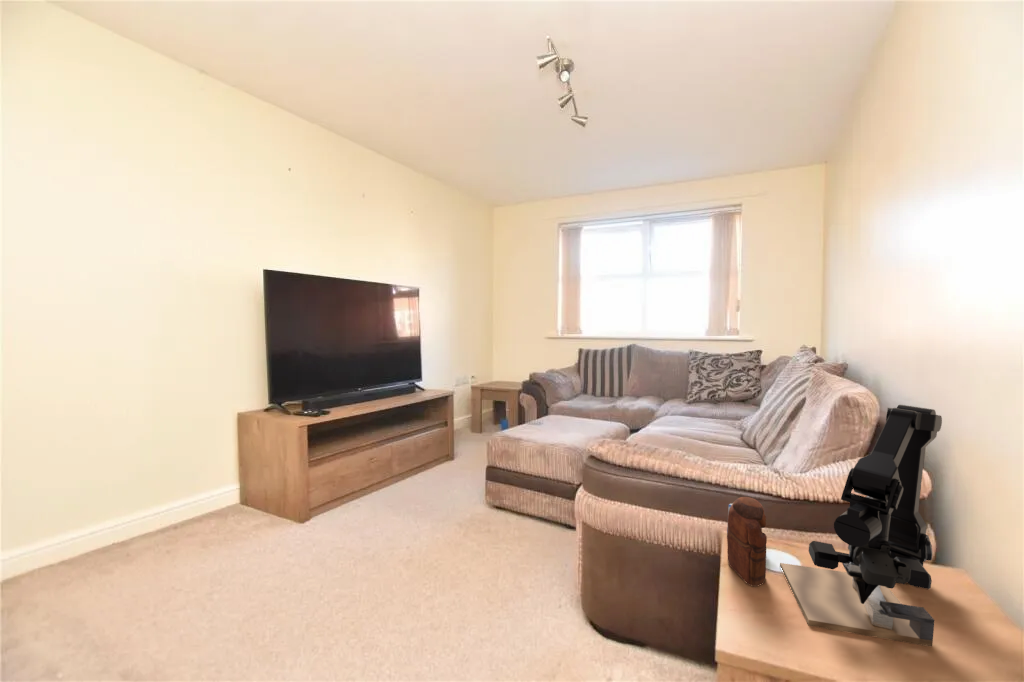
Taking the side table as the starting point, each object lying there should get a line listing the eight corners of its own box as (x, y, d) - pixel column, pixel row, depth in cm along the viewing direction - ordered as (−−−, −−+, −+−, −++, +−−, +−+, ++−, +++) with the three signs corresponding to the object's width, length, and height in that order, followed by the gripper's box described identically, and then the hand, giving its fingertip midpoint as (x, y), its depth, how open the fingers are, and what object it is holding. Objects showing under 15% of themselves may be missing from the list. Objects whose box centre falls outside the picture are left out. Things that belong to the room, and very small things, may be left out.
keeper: (921, 633, 87) (923, 607, 87) (932, 646, 84) (934, 619, 83) (878, 626, 89) (879, 600, 89) (886, 639, 86) (888, 612, 85)
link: (849, 579, 102) (850, 568, 101) (876, 585, 99) (877, 574, 99) (866, 623, 88) (867, 610, 88) (898, 631, 86) (899, 618, 85)
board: (879, 581, 103) (880, 560, 102) (932, 646, 84) (934, 620, 83) (779, 567, 108) (780, 547, 108) (808, 625, 89) (809, 601, 89)
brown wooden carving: (775, 587, 101) (779, 509, 100) (748, 588, 101) (751, 510, 99) (744, 557, 113) (747, 487, 111) (720, 558, 113) (722, 488, 111)
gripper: (824, 539, 86) (817, 615, 88) (951, 563, 79) (940, 645, 81) (811, 513, 97) (804, 582, 98) (922, 532, 90) (913, 605, 91)
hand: (861, 602), depth 92 cm, fingers closed
